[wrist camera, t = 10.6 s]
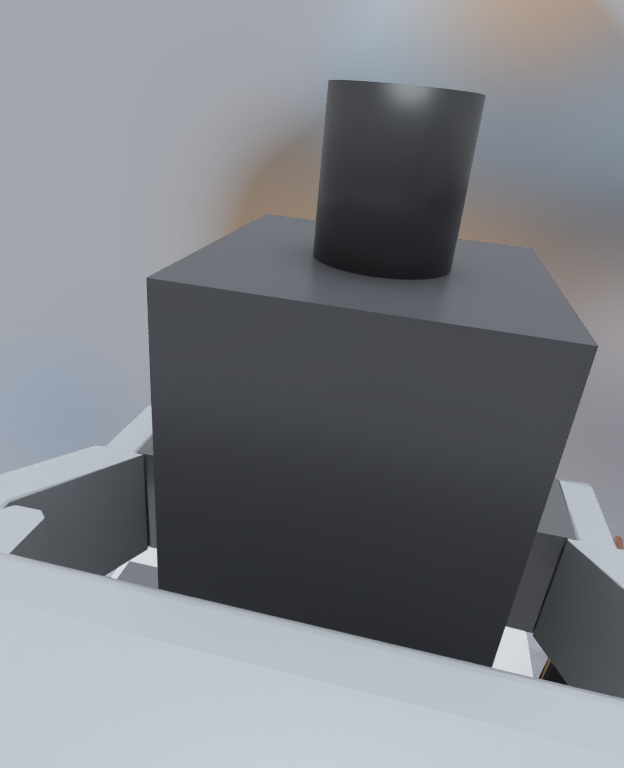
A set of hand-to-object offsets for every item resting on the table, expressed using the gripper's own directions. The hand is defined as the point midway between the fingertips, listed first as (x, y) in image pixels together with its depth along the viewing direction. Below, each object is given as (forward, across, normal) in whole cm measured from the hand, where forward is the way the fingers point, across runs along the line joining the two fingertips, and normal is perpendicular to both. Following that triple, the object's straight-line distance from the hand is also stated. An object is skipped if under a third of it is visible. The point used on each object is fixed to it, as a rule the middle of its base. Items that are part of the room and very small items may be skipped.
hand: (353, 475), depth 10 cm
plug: (-1, 0, +9) cm, 9 cm away
